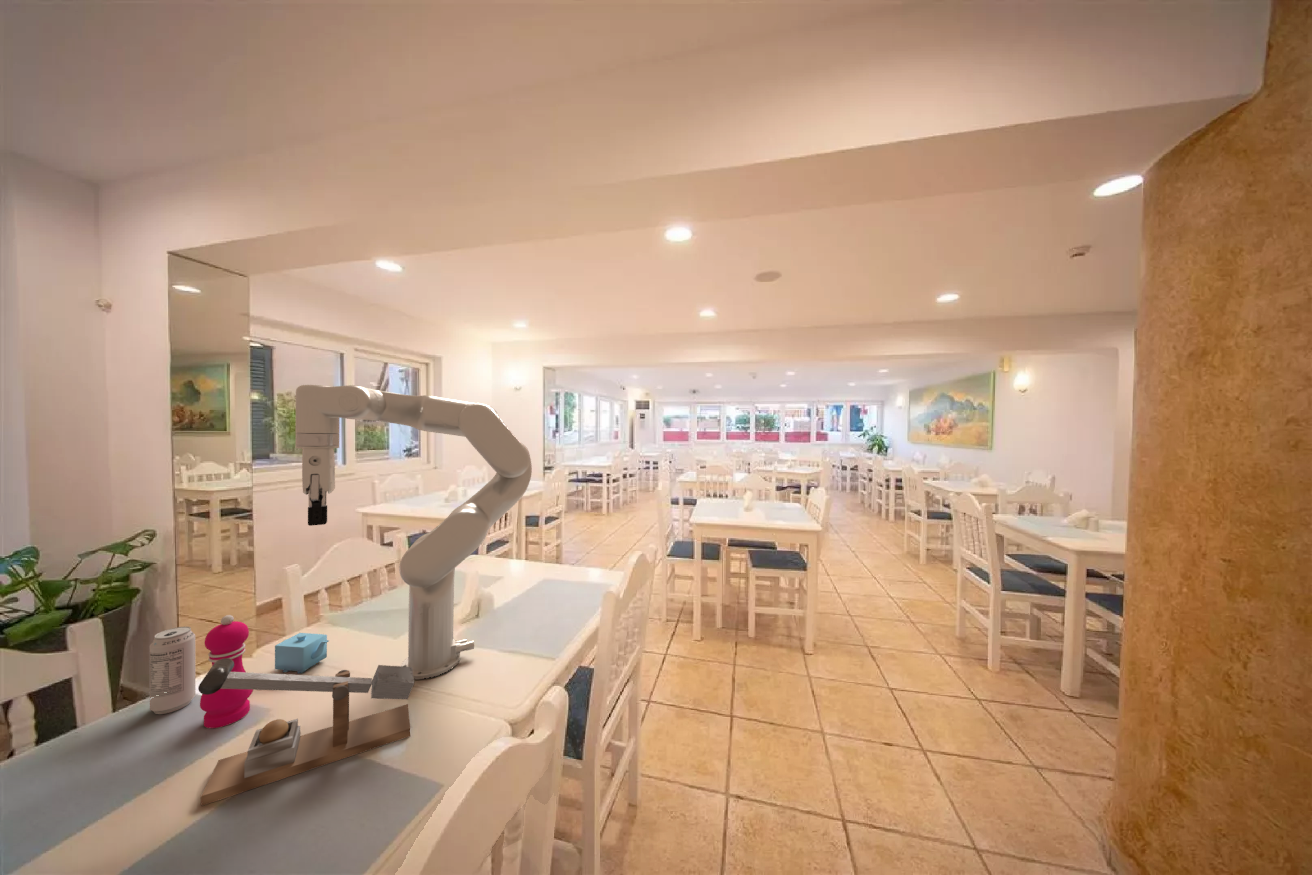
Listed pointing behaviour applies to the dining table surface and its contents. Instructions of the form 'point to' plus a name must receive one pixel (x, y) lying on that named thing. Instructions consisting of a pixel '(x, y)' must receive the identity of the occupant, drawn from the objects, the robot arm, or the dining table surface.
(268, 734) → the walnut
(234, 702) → the pepper mill
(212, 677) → the lever
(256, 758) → the stand
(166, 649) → the energy drink can
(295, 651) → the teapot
